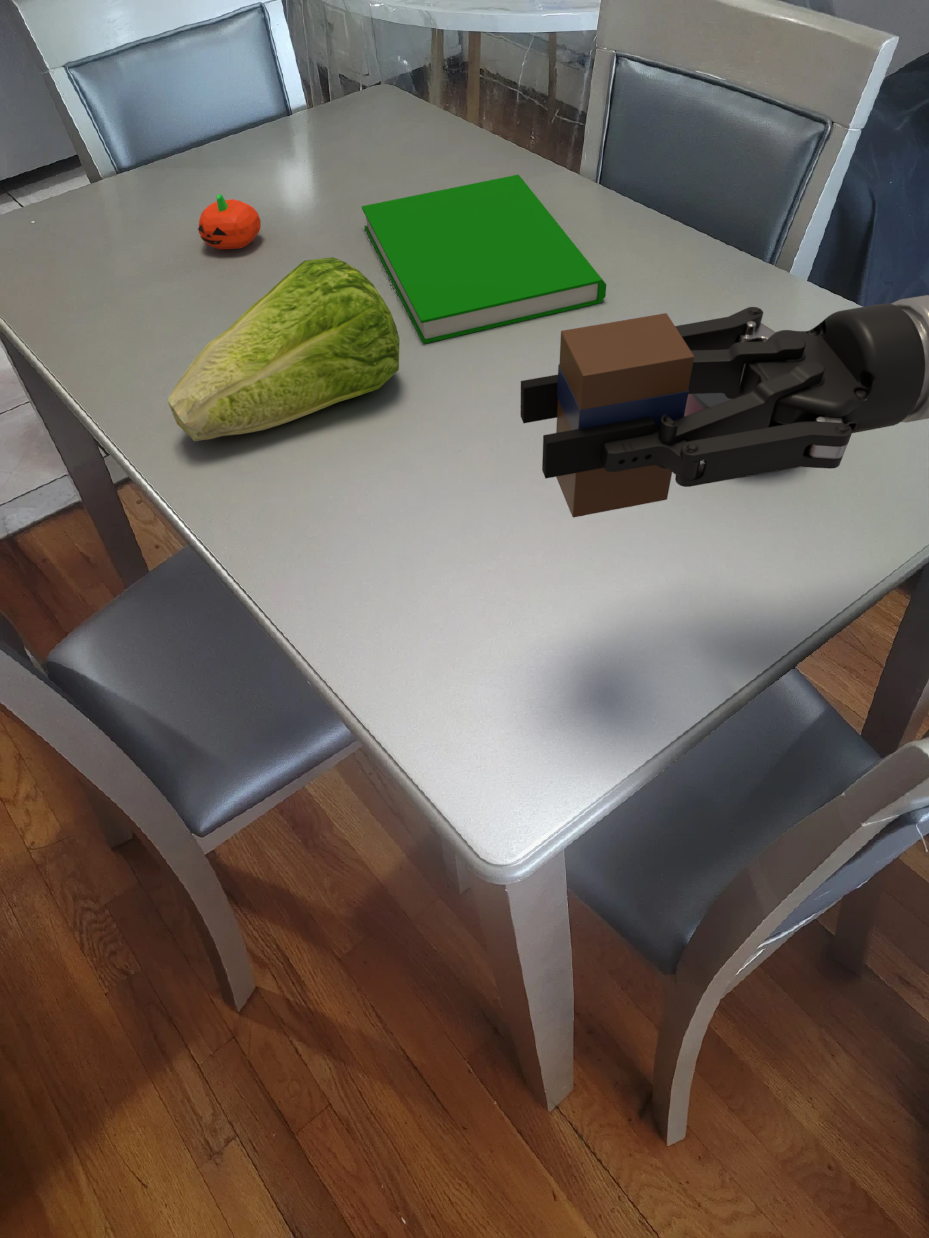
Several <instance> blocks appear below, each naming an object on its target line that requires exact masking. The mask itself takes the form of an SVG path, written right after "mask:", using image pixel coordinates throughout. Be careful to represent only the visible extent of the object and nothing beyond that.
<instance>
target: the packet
mask: <svg viewBox="0 0 929 1238" xmlns="http://www.w3.org/2000/svg"><path fill="white" fill-rule="evenodd" d="M675 326H676V325H675V324H674V322H673V321H672V319H671V318H670V316H669V314H668V313H667V312H665V313H659V314H653V315H648V316H641V317H635V318H628V319H622V320H617V321H611V322H606V323H600V324H594V325H588V326H587V325H586V326H581V327H576V328H570V329H569V328H568V329H564V330H560V343H559V344H560V345H559V347H560V348H559V363H558V366H557V375H558V385H557V397H558V406H557V418H556V430H555V431H556V432H555V433H558V432H564V431H570V430H575V429H583V428H588V427H594V426H599V425H605V424H610V423H616V422H622V421H627V420H633V419H638V418H644V417H649V416H652V418H653V420H654V422H655V423H656V426H655V432H659V429H660V423H661V417H662V416H663V415H665V414H667V417H668V416H669V417H670V418H671V419H672V420H673V421H674V420H677V419H679V418H682V417H684V414H685V409H686V404H687V398H688V393H689V391H688V387H689V382H690V377H691V371H692V366H693V361H694V355H693V354H692V352H691V351H690V349H689V347H688V346H687V344H686V343H685V341H684V340H683V338H682V336H681V335H680V333H679V332H678V330H677V329H676V327H675ZM666 419H667V418H666ZM672 474H673V472H672V471H671V470H669V469H668V468H660V467H658V466H657V465H650V466H645V467H640V468H634V469H632V468H631V469H629V470H623V471H618V472H608V471H605V468H600V469H595V470H590V471H584V472H579V473H573V474H568V475H563V476H557V477H555V478H556V480H557V483H558V486H559V488H560V490H561V493H562V495H563V497H564V500H565V503H566V504H567V507H568V509H569V512H570V515H571V517H572V518H579V517H583V516H588V515H589V516H590V515H594V514H595V515H596V514H599V513H605V512H610V511H615V510H620V509H621V510H622V509H625V508H630V507H637V506H641V505H647V504H651V503H652V504H653V503H658V502H663V501H667V500H668V496H669V491H670V486H671V481H672V476H673V475H672Z"/></svg>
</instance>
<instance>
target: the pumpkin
mask: <svg viewBox="0 0 929 1238" xmlns="http://www.w3.org/2000/svg"><path fill="white" fill-rule="evenodd" d="M261 222H262V221H261V218H260V215H259V212H257V210H256V208H255V207H254V206H252V205H250V204H248V203H246V202H243V201H241V200H238V199H235V198H233V199H225V197H224V196H223V195H222V194H221V193H220V194H216V200H215V201H214V202H212V203H211V204H209V205H208V206H206V207H205V208H204V209H203V211H202V212H201V213H200V216H199V220H198V228H197V230H198V234H199V237H200V238H201V240H202V241H203V242H204V243H205V244H206V245H208V246H210V247H211V248H214V249H217V250H218V249H219V250H233V249H234V250H235V249H237V250H238V249H243V248H245V247H246V246H248V245H250V243H252V242H254V239H255V238H256V237H257V236H258V234H259V233H260V231H261V224H262V223H261Z"/></svg>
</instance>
